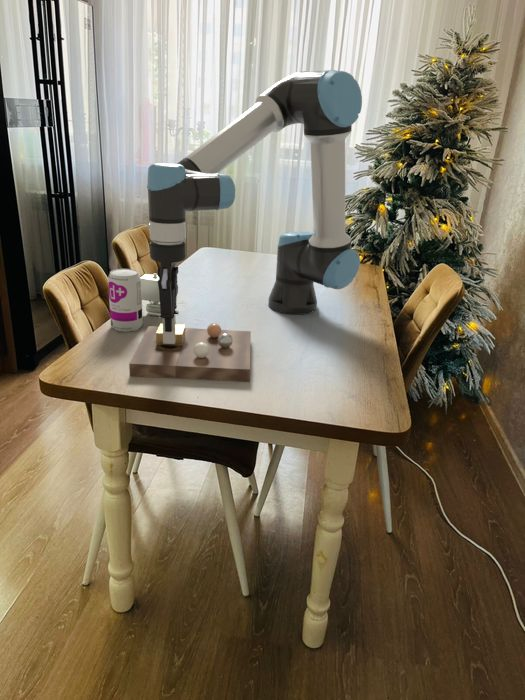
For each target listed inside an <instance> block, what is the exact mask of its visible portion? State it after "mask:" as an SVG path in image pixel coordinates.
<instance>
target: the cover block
mask: <svg viewBox="0 0 525 700" xmlns="http://www.w3.org/2000/svg"><path fill="white" fill-rule="evenodd" d="M158 327H159V328H158V330H157V332H156V345H169V346H182V345H183V342H184V339H185V328H186V324H178V323H177V324H176V342H175V344H163V323H160V324H159V326H158Z"/></svg>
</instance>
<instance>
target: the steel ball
mask: <svg viewBox="0 0 525 700" xmlns="http://www.w3.org/2000/svg"><path fill="white" fill-rule="evenodd" d="M232 342H233V339H232V337H231V336H230V335H229V334H227V333H224V334H221V335H220V336H219V338H218V344H219V346H220V347H222V348H228V347H230V346H231V345H232Z"/></svg>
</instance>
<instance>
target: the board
mask: <svg viewBox="0 0 525 700" xmlns="http://www.w3.org/2000/svg"><path fill="white" fill-rule="evenodd" d="M158 328H159V326H154V325H153V326H151V325H149V326H147V329H146V331H144V332H145V333H144V334H143V336H142V338H141V340H140V342H139V344H138V346H137V348H136V349H135V352H134V354H133V356H132V357H131V359H130V361H129V362H128V363H129V365H128V367H129V377H144V378H163V379H164V378H165V379H183V380H184V379H185V380H186V379H187V380H204V381H222V382H223V381H225V382H226V381H227V382H243V383H244V382H245V383H246V382H248V383H250V376H251V375H250V374H251V341H252V339H251V338H252V337H251V336H252V335H251V332H252V331H249V330H235V329H234V330H231V329H221V334H224V333H227V334H229V335H230V336H231V337H232V339H233V342H232V345H231V346H230V347H228V348H222V347H220V346H219V344H218V338H219V336H220V335H221V334H220V335H219V336H218V337H216V338H213V337H210V336H209V335H208V333H207V328H194V327H193V328H192V327H190V328H189V327H185V339H184V342H183V345H182V346H169V345H156V332H157V330H158ZM200 342H203V343H206V344H207V345H208V347H209V354H208V355H207V356H206V357H204V358H199V357H197V356H196V355H195V354H194V346H195V345H196V344H197V343H200Z"/></svg>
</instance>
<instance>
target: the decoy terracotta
mask: <svg viewBox="0 0 525 700" xmlns="http://www.w3.org/2000/svg"><path fill="white" fill-rule="evenodd" d="M206 329H207V333H208V335H209V336H210V337H213V338H216V337H218V336H219V335H220V334H221V330H222V328H221V325H219V324H218V323H210V324H209V325H208V326H207V328H206Z"/></svg>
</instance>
